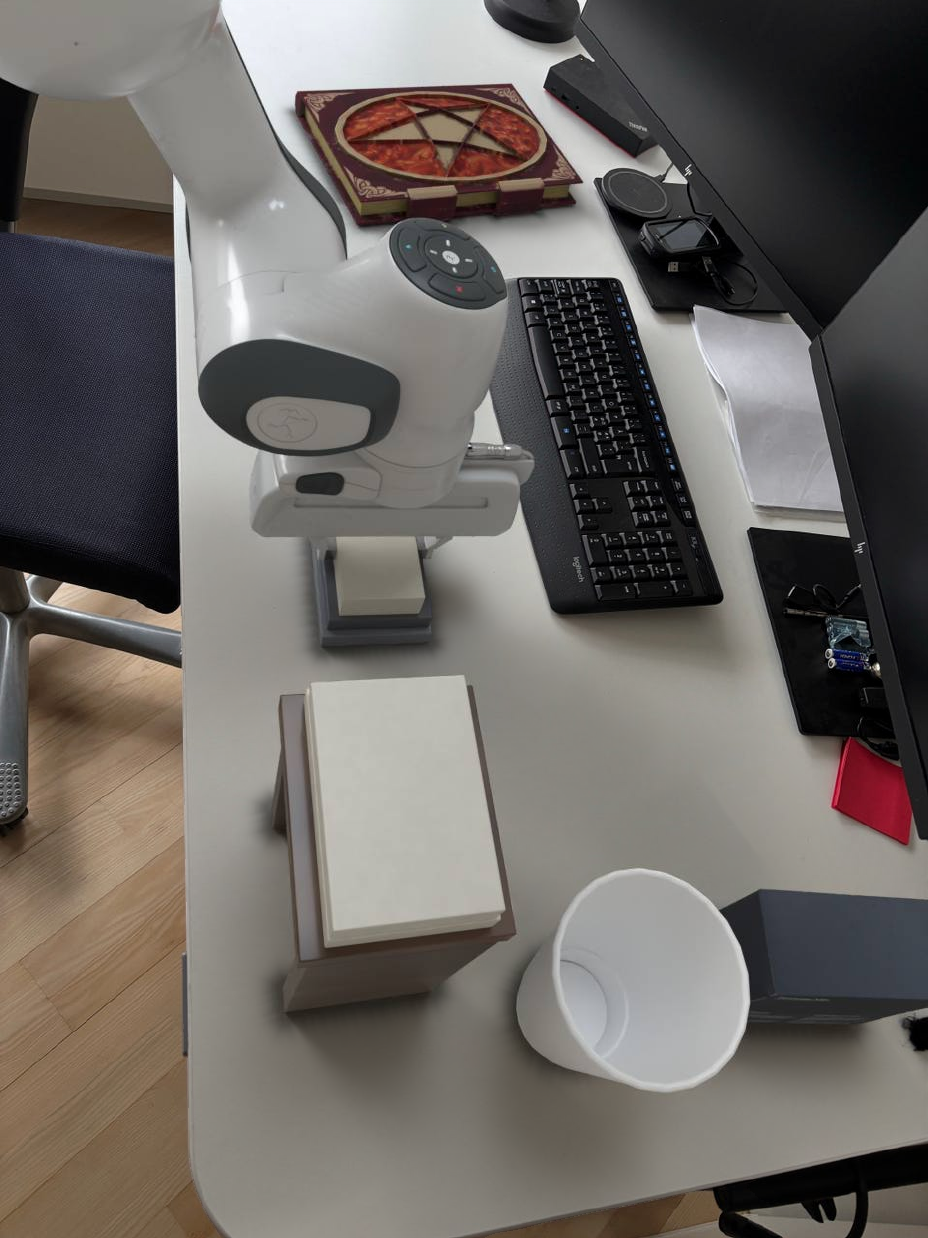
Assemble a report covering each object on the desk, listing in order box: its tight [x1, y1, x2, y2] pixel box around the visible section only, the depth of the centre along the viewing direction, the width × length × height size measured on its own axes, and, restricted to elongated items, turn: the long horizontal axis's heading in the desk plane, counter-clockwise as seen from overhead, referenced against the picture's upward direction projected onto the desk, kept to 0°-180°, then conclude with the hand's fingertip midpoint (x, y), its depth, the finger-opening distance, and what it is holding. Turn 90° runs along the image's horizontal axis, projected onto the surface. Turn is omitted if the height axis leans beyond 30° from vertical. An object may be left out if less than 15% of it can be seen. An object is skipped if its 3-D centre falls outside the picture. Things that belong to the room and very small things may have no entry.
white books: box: [304, 674, 505, 948], centre depth 47 cm, size 13×8×4 cm, turn 9°
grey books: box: [310, 542, 433, 647], centre depth 77 cm, size 13×9×3 cm
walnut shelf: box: [271, 684, 518, 1013], centre depth 57 cm, size 14×11×20 cm
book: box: [294, 82, 584, 226], centre depth 107 cm, size 28×21×5 cm
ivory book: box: [333, 537, 425, 616], centre depth 75 cm, size 11×6×3 cm, turn 9°
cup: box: [515, 867, 750, 1094], centre depth 58 cm, size 12×12×16 cm
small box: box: [718, 888, 928, 1026], centre depth 64 cm, size 13×7×12 cm, turn 90°
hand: (373, 552), depth 75 cm, fingers closed on ivory book, 6 cm apart
